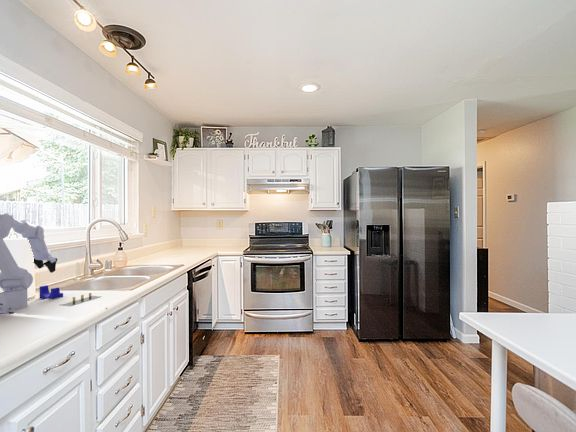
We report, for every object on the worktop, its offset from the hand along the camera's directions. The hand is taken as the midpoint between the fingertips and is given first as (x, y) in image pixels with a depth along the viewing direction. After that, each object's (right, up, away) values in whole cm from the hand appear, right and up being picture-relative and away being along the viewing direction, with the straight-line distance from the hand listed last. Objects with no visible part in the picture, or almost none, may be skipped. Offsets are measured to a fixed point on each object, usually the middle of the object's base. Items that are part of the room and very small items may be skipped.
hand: (47, 269), depth 154 cm
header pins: (+27, -12, -14) cm, 33 cm away
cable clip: (+6, -14, -5) cm, 16 cm away
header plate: (+27, -13, -14) cm, 33 cm away
